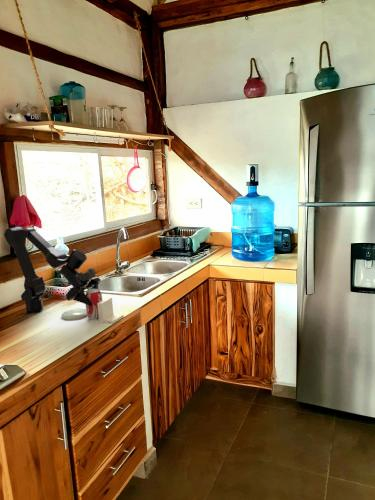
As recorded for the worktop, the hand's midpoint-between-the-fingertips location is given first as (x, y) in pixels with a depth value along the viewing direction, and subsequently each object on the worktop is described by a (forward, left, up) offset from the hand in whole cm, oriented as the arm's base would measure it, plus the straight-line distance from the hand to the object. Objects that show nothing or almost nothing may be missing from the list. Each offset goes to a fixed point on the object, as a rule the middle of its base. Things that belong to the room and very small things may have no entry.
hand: (96, 302), depth 172 cm
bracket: (+6, -3, -7) cm, 9 cm away
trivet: (-10, +6, -7) cm, 13 cm away
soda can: (-1, +1, -7) cm, 7 cm away
